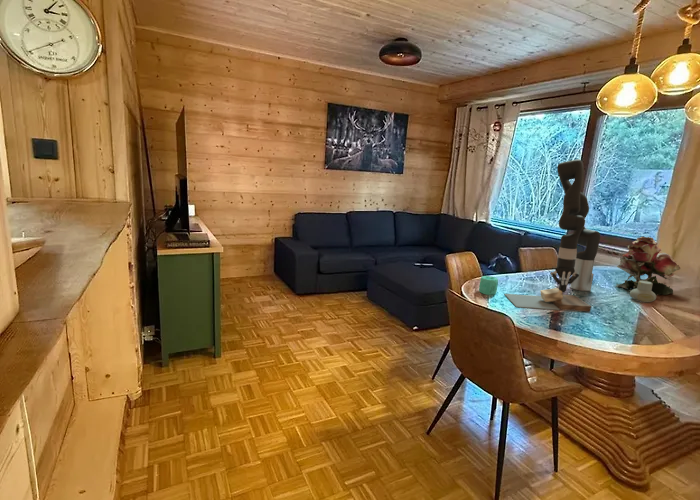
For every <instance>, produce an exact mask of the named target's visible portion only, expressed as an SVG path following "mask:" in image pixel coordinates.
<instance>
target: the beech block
mask: <svg viewBox="0 0 700 500" xmlns="http://www.w3.org/2000/svg"><path fill="white" fill-rule="evenodd" d="M539 292H540V296H541V298H542V299H543V300H544V301H545V302H550V301H557V300H563V295H564V294H563V292H562V291H561V290H559V287H555V288H554V287H553V288H548V289H541V290H540V291H539Z"/></svg>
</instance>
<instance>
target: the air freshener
mask: <svg viewBox="0 0 700 500" xmlns="http://www.w3.org/2000/svg"><path fill="white" fill-rule="evenodd" d="M652 285H653V284H652V283H651V282H648V281H639V282H638V286H637V288H636V289H631V291H629V296H630V298H632V299H634V301H638V302H640V303H645V304H646V303H647V304H648V303H652V302H654V301H656V299H657V295H655V293H654V292H652V291H651V290H652Z"/></svg>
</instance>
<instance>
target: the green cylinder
mask: <svg viewBox="0 0 700 500" xmlns="http://www.w3.org/2000/svg"><path fill="white" fill-rule="evenodd" d="M498 285H499V279H498V278H497V277H495V276H491V275H483V276H481V277H480V280H479V286H478V289H479V290H478V291H479V292H480V293H481V294H483V295H486V296H496V294H497V292H498Z"/></svg>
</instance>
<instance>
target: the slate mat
mask: <svg viewBox="0 0 700 500" xmlns="http://www.w3.org/2000/svg"><path fill="white" fill-rule="evenodd" d="M504 296H505V297H506V298H507V299H508V300H509V301H510V302H511V303H512V304H513V305H514V307H516V308H521V309H533V310H535V309H536V310H549V311H561V309H559V308H558V307H556V306H555V305H554V304H553V303H551V302H545V301H544V300H543V299H542V298H541V295H528V294H514V293H504Z"/></svg>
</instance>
